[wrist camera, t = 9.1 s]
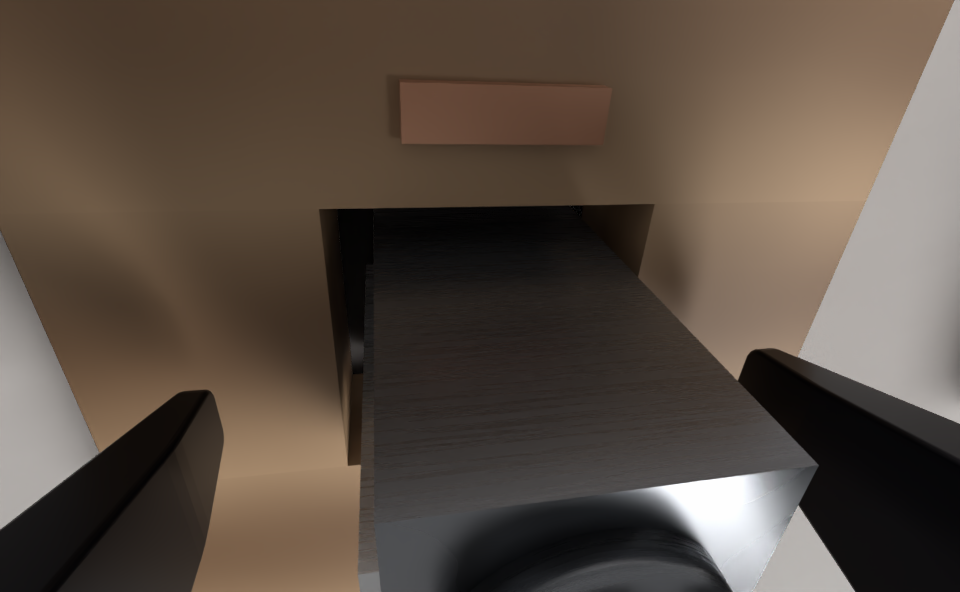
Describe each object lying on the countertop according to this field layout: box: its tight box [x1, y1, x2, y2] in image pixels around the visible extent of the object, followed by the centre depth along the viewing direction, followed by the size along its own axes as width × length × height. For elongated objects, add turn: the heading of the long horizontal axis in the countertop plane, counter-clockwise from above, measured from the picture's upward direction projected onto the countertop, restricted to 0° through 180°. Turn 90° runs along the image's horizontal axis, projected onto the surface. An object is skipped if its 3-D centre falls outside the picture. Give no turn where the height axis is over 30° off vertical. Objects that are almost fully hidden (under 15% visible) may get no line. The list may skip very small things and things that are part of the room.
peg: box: [358, 205, 819, 592], centre depth 8 cm, size 4×4×9 cm
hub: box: [0, 0, 954, 592], centre depth 11 cm, size 16×14×3 cm
